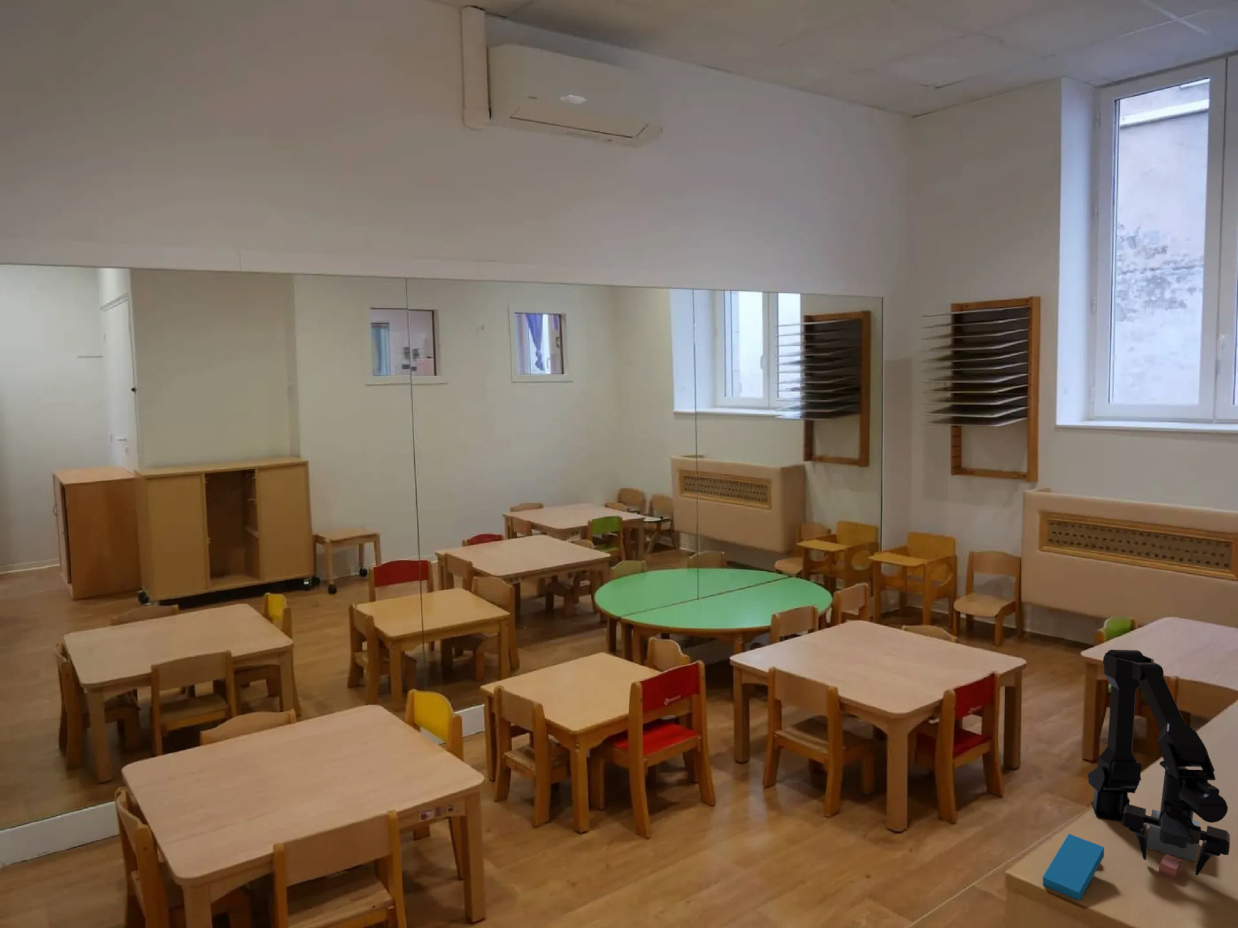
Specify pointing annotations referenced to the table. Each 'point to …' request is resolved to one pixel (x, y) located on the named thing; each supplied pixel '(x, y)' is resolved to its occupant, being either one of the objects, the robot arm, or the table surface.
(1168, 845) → the posting box
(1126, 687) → the robot arm
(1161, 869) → the pink rectangular block
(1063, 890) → the blue rectangular box
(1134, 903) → the table surface
